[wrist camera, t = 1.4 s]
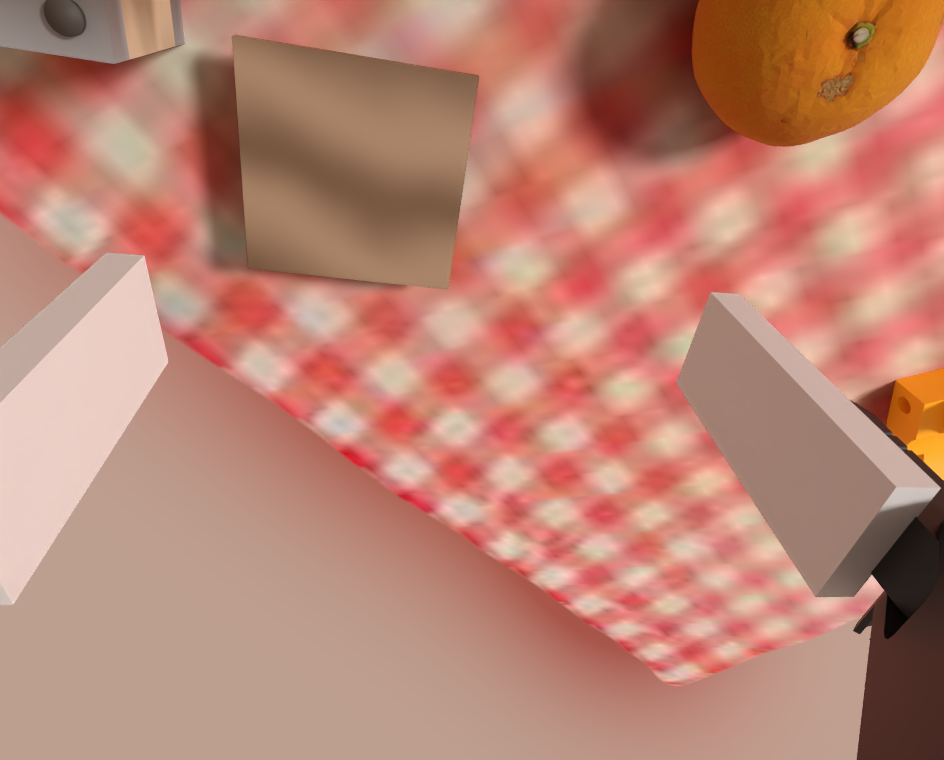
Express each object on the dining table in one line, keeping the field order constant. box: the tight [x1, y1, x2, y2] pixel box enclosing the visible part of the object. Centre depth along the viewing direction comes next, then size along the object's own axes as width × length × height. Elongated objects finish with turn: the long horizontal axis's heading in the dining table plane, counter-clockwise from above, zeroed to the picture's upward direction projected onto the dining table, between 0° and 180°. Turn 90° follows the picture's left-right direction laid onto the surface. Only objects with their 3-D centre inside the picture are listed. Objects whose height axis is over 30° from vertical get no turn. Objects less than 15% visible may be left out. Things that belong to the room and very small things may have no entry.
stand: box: [232, 35, 479, 290], centre depth 30 cm, size 11×11×3 cm
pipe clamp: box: [886, 368, 944, 480], centre depth 44 cm, size 12×4×6 cm, turn 15°
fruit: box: [692, 0, 944, 147], centre depth 26 cm, size 10×10×8 cm
